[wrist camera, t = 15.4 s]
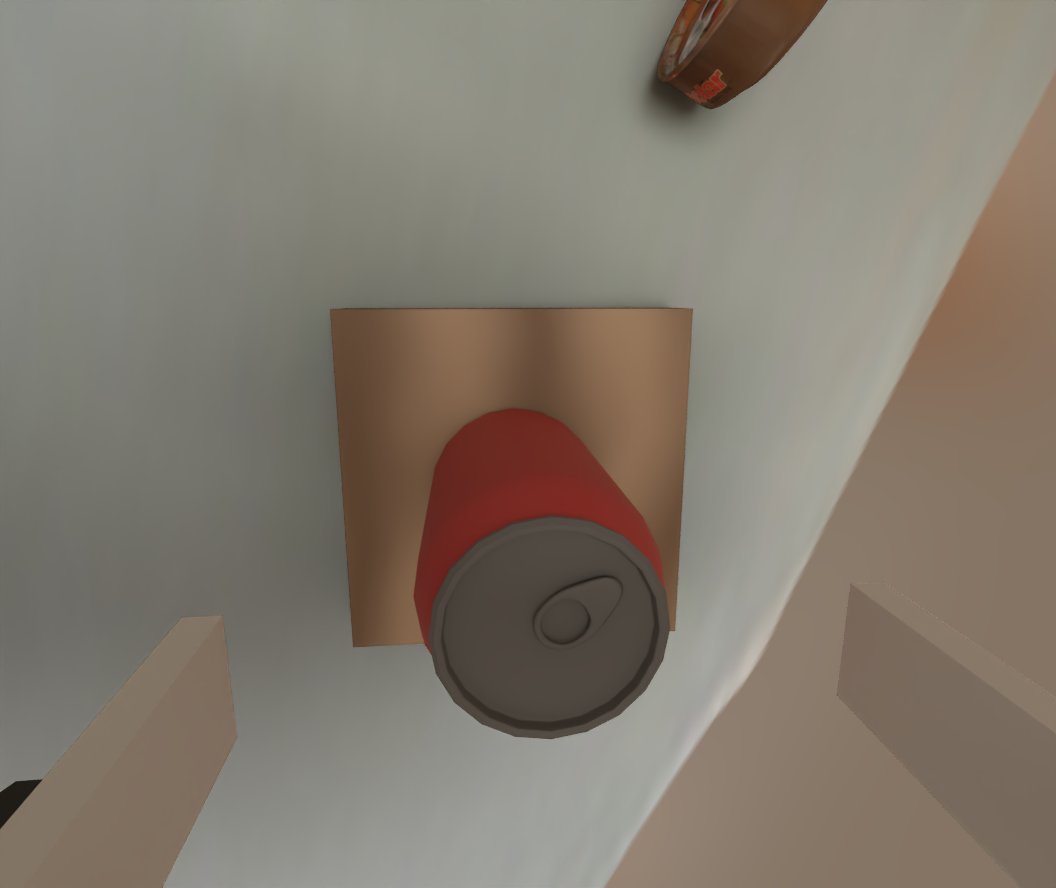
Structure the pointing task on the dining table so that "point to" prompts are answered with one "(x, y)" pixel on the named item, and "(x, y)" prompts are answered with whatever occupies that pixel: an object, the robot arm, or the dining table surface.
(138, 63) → the dining table surface
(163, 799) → the robot arm
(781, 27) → the tin
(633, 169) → the dining table surface
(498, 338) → the podium
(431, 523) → the beer can
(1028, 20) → the dining table surface
